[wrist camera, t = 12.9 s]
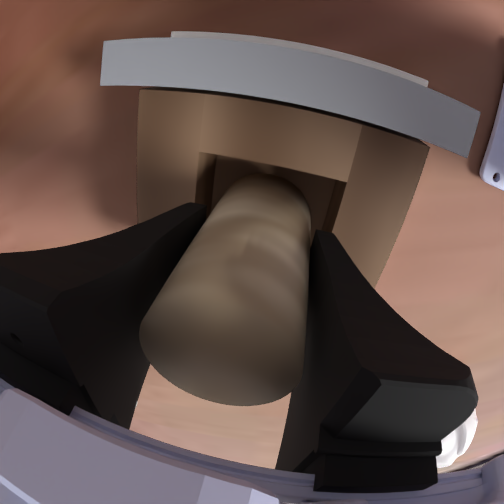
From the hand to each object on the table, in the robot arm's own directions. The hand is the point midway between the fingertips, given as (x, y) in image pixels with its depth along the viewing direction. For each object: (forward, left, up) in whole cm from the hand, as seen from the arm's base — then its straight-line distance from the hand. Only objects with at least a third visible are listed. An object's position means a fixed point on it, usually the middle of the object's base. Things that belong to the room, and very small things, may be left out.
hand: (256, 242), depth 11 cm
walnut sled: (0, 0, -4) cm, 4 cm away
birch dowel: (0, 0, -2) cm, 2 cm away
